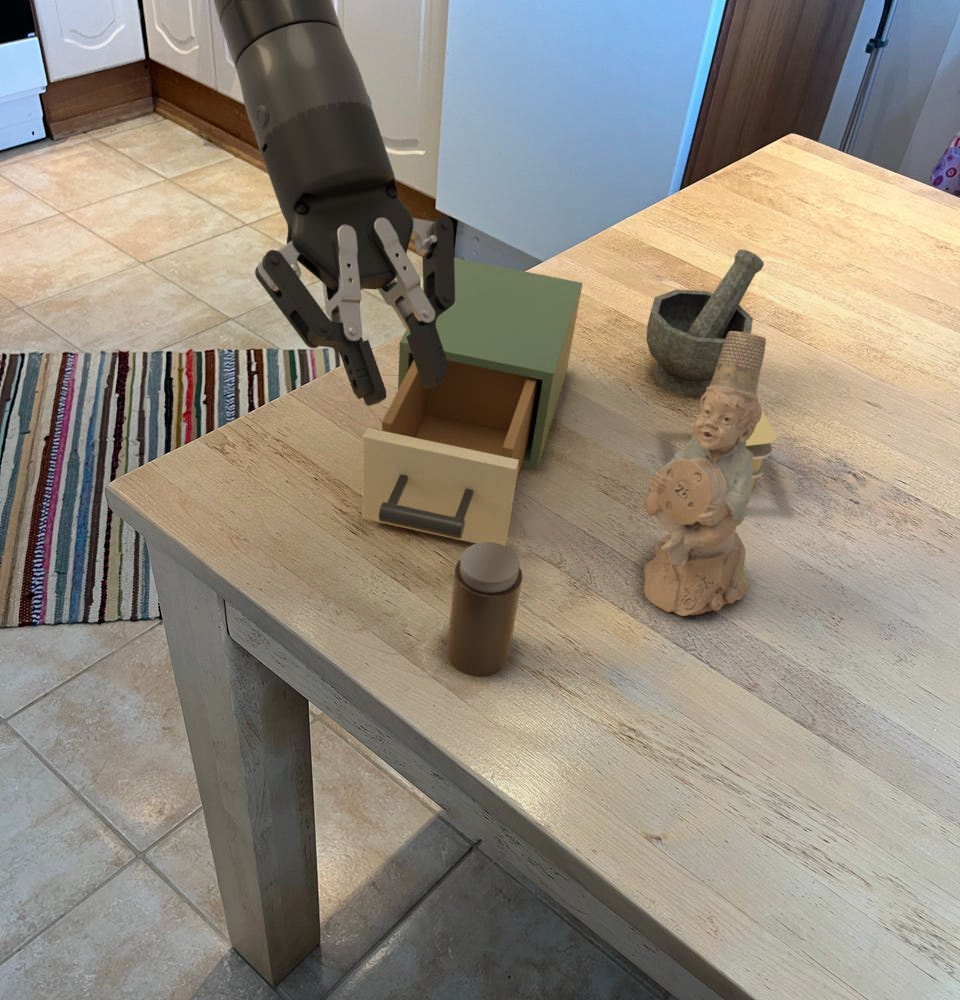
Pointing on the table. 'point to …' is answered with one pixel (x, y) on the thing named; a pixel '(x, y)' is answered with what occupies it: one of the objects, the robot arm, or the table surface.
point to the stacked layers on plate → (760, 445)
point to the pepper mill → (483, 609)
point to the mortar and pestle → (698, 327)
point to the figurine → (708, 491)
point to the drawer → (450, 453)
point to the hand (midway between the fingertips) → (405, 392)
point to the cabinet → (510, 333)
